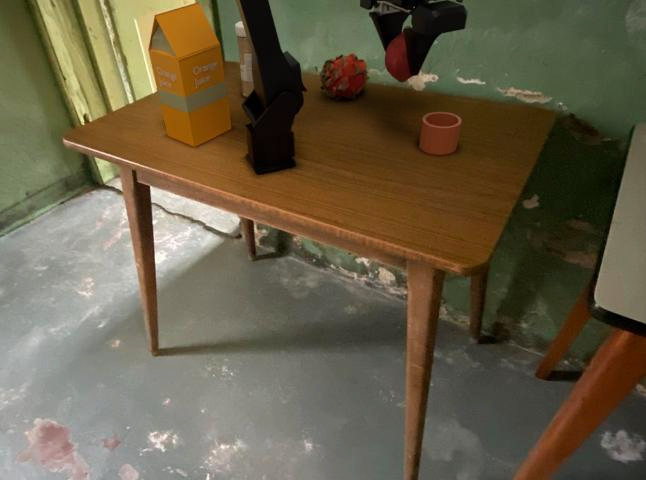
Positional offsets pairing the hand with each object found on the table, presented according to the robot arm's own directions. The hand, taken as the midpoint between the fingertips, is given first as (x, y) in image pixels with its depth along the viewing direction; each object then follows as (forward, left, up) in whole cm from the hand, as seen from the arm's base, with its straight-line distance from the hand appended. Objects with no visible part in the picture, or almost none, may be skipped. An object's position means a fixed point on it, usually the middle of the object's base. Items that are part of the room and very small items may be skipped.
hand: (403, 69), depth 74 cm
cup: (+4, -6, -11) cm, 13 cm away
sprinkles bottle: (-16, +29, -11) cm, 35 cm away
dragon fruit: (0, +20, -11) cm, 23 cm away
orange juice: (-30, +17, -11) cm, 36 cm away
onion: (0, 0, -2) cm, 2 cm away
